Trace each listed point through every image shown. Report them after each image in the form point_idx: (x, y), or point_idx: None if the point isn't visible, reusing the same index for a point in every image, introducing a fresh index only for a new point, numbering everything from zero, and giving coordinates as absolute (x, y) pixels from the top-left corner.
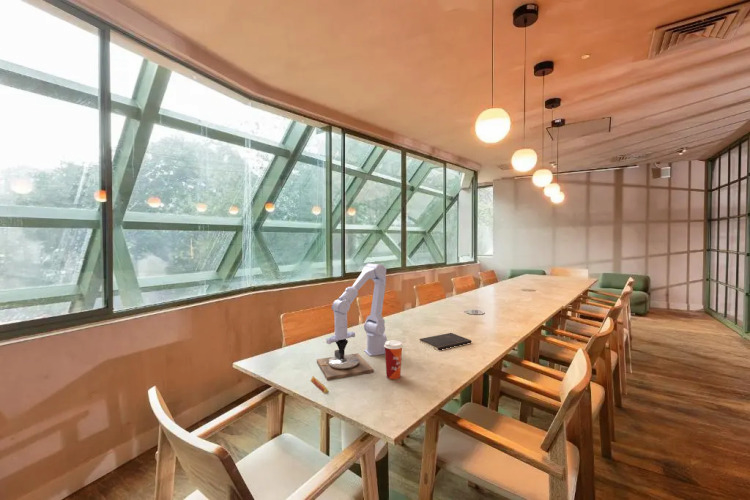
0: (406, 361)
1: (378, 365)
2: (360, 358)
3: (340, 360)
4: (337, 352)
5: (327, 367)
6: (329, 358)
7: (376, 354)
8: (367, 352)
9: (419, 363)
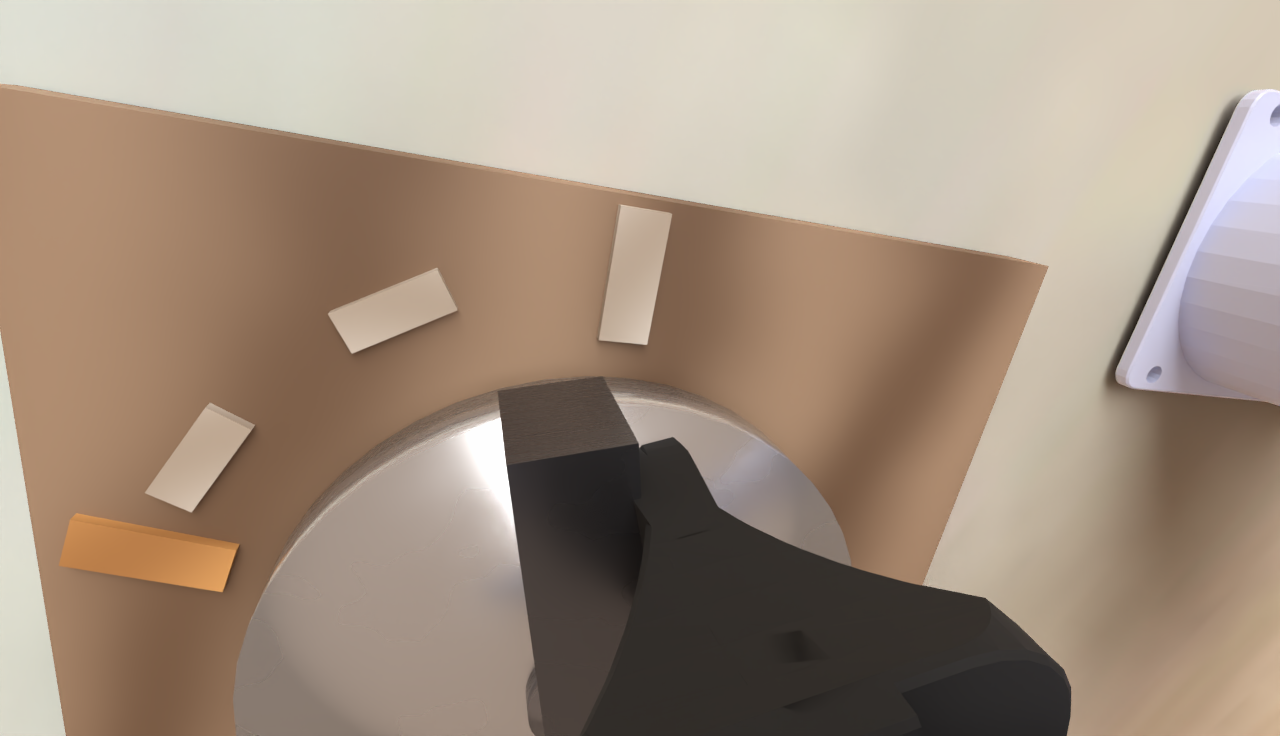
0: (1212, 666)
1: None
2: (920, 507)
3: (514, 675)
4: (529, 620)
5: (202, 671)
6: (396, 228)
7: (1199, 393)
8: (1189, 255)
9: (1230, 732)
